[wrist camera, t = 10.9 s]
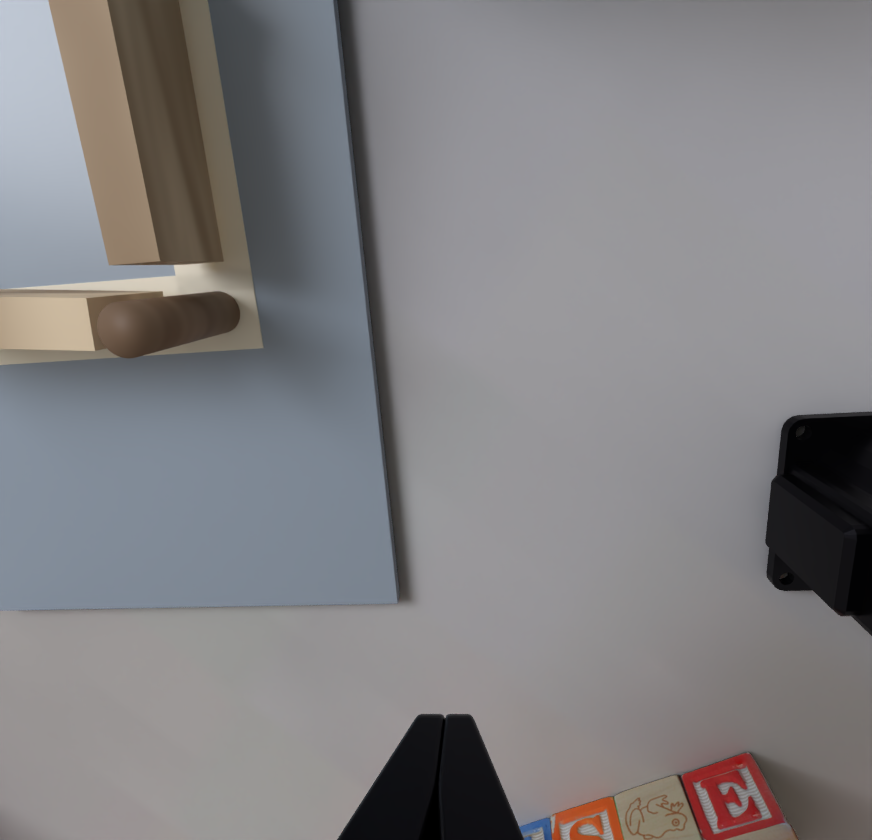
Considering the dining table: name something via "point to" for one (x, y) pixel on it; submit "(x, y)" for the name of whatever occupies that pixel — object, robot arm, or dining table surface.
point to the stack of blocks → (678, 809)
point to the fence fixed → (143, 162)
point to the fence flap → (57, 317)
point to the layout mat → (198, 345)
